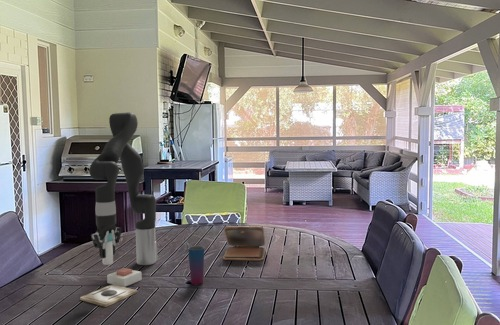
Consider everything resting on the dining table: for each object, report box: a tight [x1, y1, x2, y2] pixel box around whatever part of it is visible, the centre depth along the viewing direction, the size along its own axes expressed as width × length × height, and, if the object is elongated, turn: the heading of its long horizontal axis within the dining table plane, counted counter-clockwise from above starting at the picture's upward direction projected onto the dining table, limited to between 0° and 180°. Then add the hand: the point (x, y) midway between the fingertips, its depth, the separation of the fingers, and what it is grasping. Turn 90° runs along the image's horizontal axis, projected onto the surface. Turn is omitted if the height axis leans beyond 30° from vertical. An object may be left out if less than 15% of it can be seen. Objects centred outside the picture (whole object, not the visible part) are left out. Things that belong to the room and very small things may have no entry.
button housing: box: [106, 269, 143, 288], centre depth 196 cm, size 10×10×4 cm
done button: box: [116, 267, 133, 276], centre depth 196 cm, size 4×4×3 cm
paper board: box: [79, 284, 138, 308], centre depth 179 cm, size 16×14×1 cm
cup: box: [187, 245, 205, 285], centre depth 193 cm, size 7×7×15 cm
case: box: [222, 225, 266, 262], centre depth 232 cm, size 20×21×16 cm
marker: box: [101, 233, 114, 266], centre depth 178 cm, size 4×4×12 cm
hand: (107, 256), depth 178 cm, fingers closed on marker, 4 cm apart
